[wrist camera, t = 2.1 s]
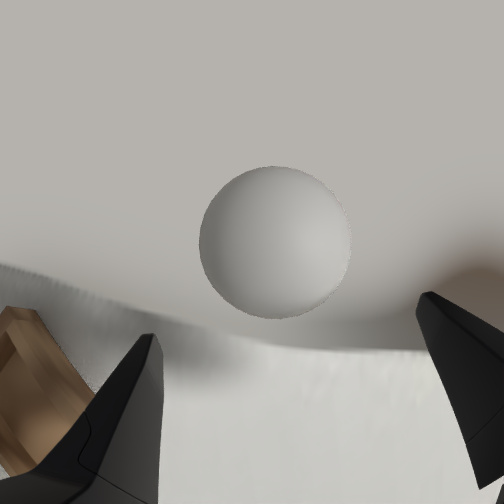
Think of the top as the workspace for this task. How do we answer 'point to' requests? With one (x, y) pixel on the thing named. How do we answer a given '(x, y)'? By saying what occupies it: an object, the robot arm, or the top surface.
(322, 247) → the lightbulb
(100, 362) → the top surface
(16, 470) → the u rest
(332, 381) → the top surface
